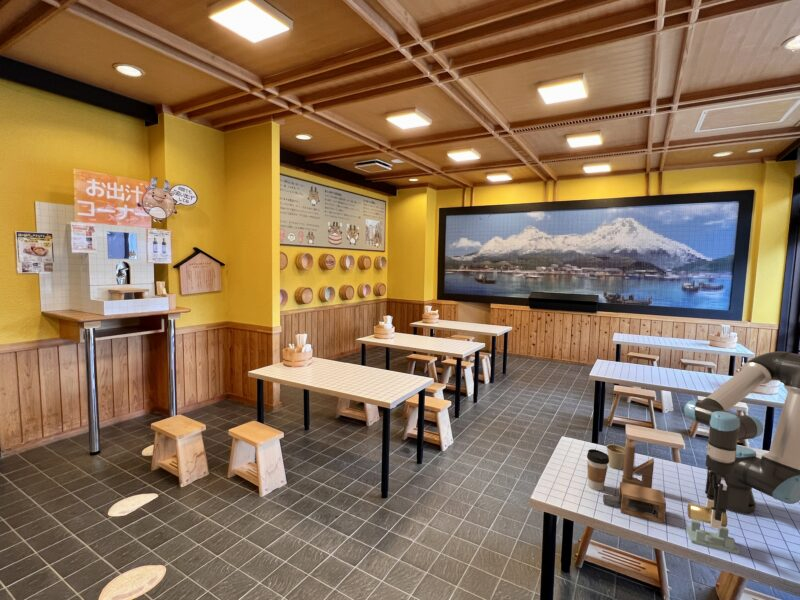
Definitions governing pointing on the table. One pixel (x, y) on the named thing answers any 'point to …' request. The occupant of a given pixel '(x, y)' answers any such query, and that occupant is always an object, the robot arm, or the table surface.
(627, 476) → the wooden bracket
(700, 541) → the cradle
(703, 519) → the gold metallic block
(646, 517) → the box
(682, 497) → the table surface
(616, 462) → the flower pot
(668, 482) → the table surface
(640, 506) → the drift bar
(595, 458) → the coffee cup
